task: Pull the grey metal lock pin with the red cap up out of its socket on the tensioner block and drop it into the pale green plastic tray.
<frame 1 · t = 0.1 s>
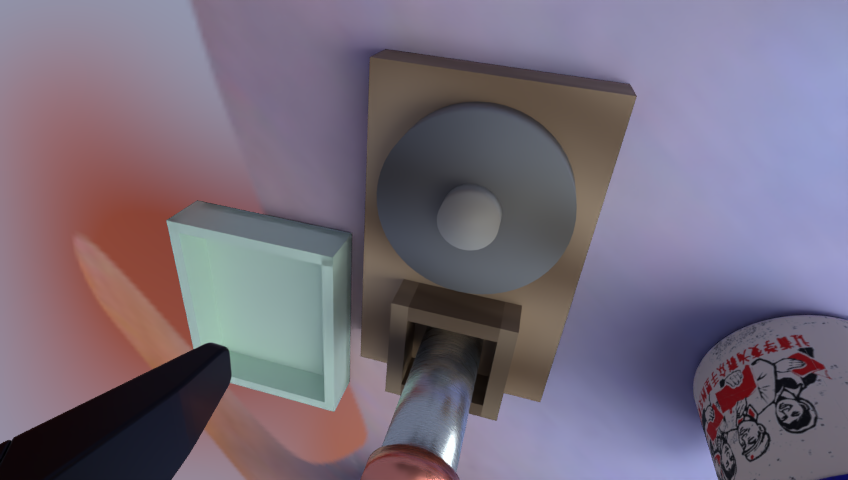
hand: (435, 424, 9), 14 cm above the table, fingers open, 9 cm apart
lock pin: (454, 337, 25), point 2 cm above the table, touching tensioner block
tray: (279, 297, 29), on the table
teacup with lid: (769, 397, 24), on the table
tensioner block: (474, 234, 24), on the table
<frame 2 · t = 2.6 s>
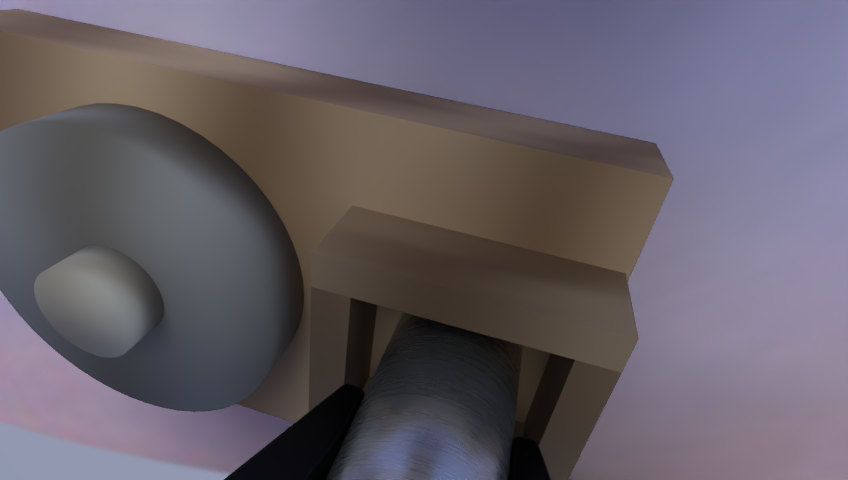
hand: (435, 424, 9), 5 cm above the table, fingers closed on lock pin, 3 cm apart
lock pin: (458, 340, 12), point 2 cm above the table, touching gripper, tensioner block
tensioner block: (303, 247, 14), on the table
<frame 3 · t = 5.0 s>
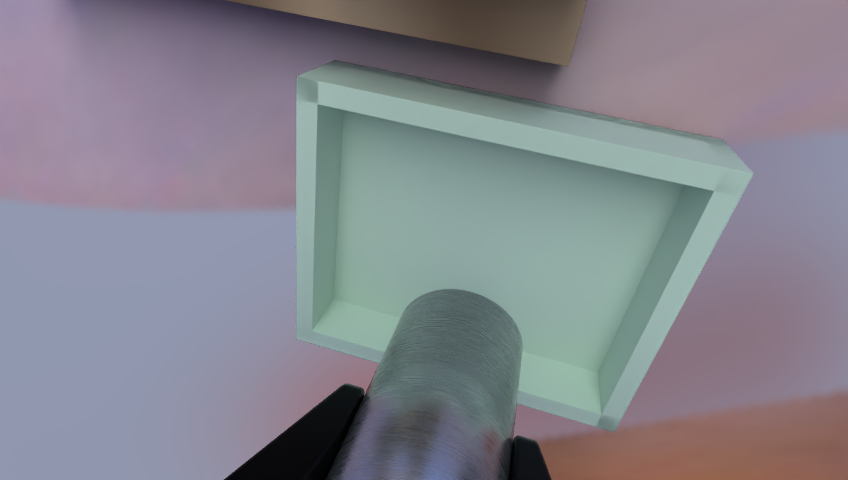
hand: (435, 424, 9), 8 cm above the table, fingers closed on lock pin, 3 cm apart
lock pin: (458, 341, 12), point 5 cm above the table, touching gripper
tray: (485, 234, 16), on the table
when the fingers open (5 cm above the table, at t = 6.0 s): lock pin drops 2 cm, resting on tray.
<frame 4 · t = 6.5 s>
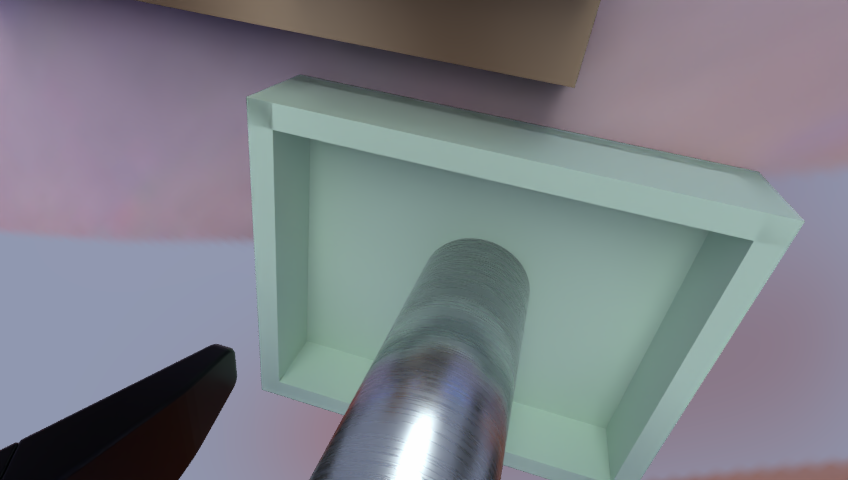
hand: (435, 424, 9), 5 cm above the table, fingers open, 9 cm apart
lock pin: (475, 286, 14), point 1 cm above the table, touching tray
tray: (476, 273, 14), on the table
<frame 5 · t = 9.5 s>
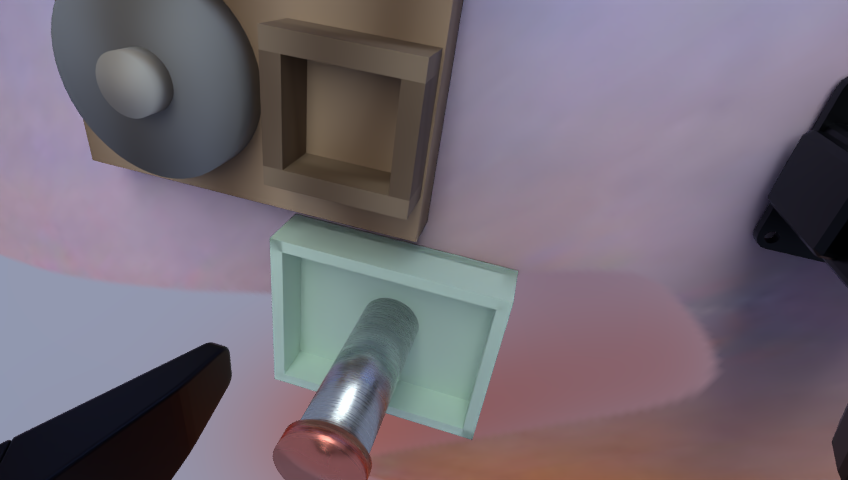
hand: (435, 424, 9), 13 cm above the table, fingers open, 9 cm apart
lock pin: (390, 321, 25), point 1 cm above the table, touching tray
tray: (393, 314, 26), on the table
tensioner block: (265, 77, 21), on the table
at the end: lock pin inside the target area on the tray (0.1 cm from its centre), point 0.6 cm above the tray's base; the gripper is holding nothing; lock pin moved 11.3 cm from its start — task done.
